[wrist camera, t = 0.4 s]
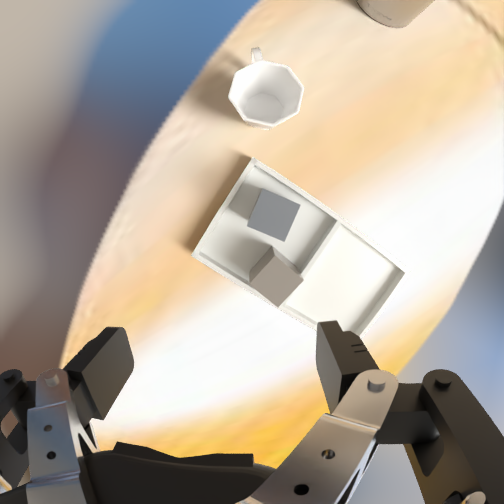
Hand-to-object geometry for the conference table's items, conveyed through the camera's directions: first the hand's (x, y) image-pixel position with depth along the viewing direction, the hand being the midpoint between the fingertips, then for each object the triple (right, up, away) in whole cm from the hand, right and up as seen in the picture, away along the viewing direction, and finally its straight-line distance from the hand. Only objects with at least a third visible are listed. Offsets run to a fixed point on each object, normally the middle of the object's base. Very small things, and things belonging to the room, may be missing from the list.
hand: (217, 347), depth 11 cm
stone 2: (+4, +2, +23) cm, 24 cm away
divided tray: (+8, +3, +23) cm, 25 cm away
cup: (+2, +21, +20) cm, 29 cm away
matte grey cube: (+4, +8, +22) cm, 24 cm away
